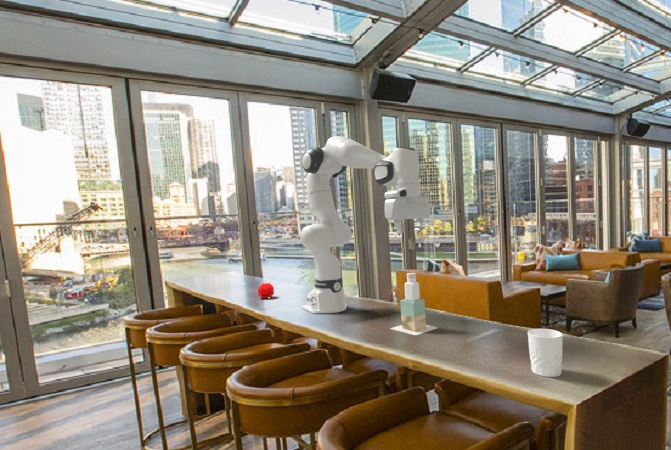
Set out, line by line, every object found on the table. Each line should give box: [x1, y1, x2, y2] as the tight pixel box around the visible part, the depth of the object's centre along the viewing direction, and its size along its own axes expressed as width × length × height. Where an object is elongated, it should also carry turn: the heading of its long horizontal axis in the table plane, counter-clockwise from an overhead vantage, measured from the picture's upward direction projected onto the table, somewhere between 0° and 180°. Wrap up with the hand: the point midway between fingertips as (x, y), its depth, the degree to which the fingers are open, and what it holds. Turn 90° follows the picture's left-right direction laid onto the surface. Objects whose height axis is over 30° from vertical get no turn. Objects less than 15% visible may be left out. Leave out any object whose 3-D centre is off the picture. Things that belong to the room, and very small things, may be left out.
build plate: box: [389, 324, 438, 336], centre depth 143 cm, size 12×12×1 cm
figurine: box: [389, 284, 405, 313], centre depth 169 cm, size 8×6×12 cm
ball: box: [257, 282, 275, 299], centre depth 217 cm, size 8×8×8 cm
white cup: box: [527, 328, 564, 378], centre depth 102 cm, size 8×8×10 cm
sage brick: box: [399, 298, 426, 317], centre depth 143 cm, size 6×6×5 cm
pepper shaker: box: [404, 272, 421, 301], centre depth 143 cm, size 4×4×10 cm
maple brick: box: [400, 313, 427, 332], centre depth 143 cm, size 6×6×5 cm
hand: (409, 232), depth 143 cm, fingers open, 8 cm apart
